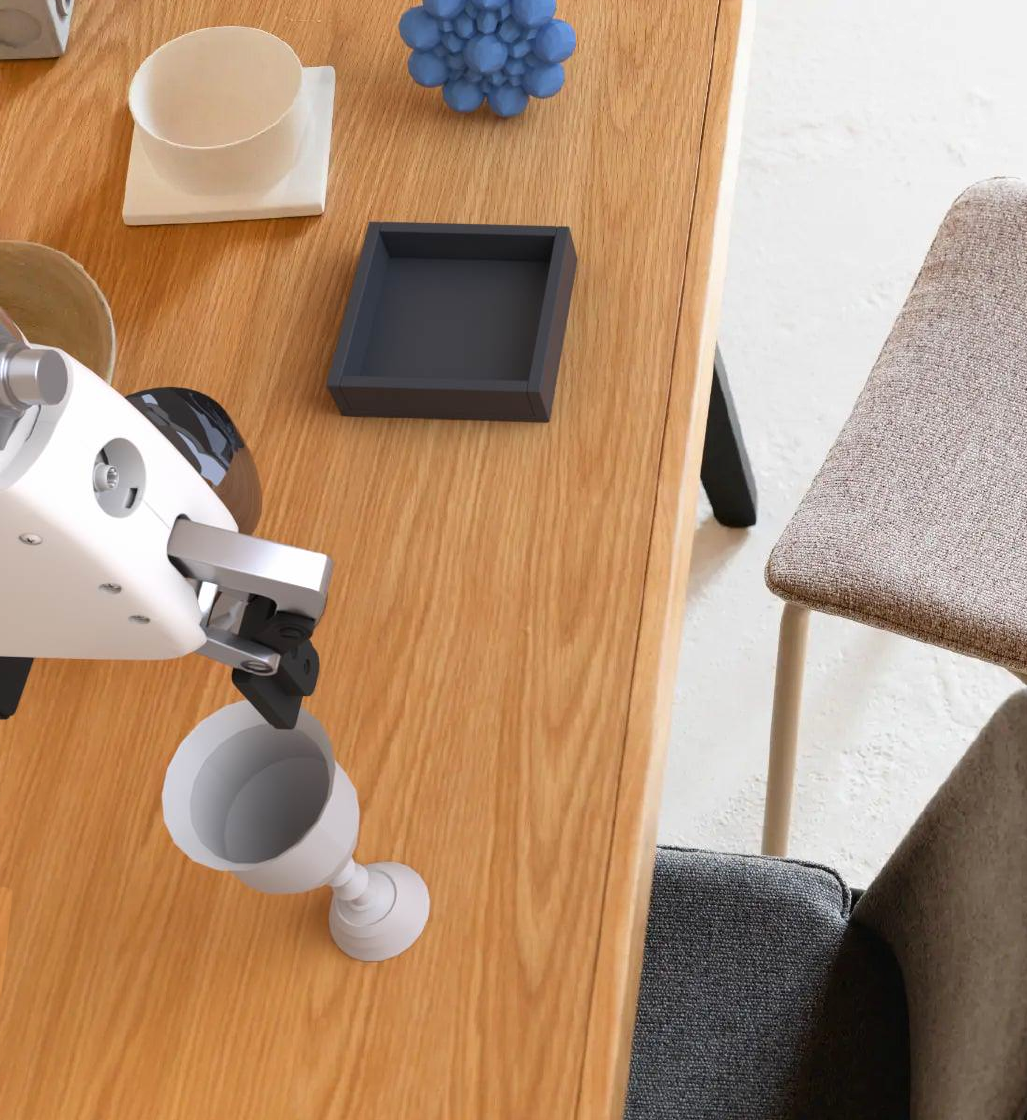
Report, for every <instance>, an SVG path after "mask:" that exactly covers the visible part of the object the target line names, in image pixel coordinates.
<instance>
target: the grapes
mask: <svg viewBox="0 0 1027 1120" xmlns="http://www.w3.org/2000/svg"><path fill="white" fill-rule="evenodd" d="M421 3H422V5H416V6H412V7H409V8H408V9H407V10H406V11H405V12H404V13H402V14H401V17H400V18H399V22H398V26H397V27H398V32H399V37H400V38H401V40H402V41H403V43H404V44H405V45H406V47H408V48H410V49H411V50H412V51H411V52H410V54H409V57H408V59H407V63H406V64H407V69H408V74H409V75H410V77H411V79H412V80H413V82H414V83H415V84H417V85H418V86H420V87H422V88H426V89H433V88H437V87H441V86H442V87H441V95H442V100H443V102H444V103H445V104H446V106H447V107H448V108H449V110H451V111H452V112H454V113H457V114H469V113H472V112H475V111H477V110H478V109H479V108H480V107H482V106H483V104H484V102H485V101H486V105H487V107H488V108H489V109H490V111H491V112H492V113H493V114H494V115H496V116H498V117H500V118H505V119H506V118H507V119H509V118H514V117H517V116H519V115H520V114H522V113H523V112H524V111H525V110H526V109H527V107H528V104H529V102H530V96H531V97H533V98H535V99H540V100H544V99H545V100H546V99H549V98H553V97H554V96H556V95H557V94H558V93H559V92H560V91H561V90H562V89H563V86H564V84H565V82H566V76H565V68H564V66H563V65H562V63H565V62H566V61H568V60H569V59H570V58H571V57H572V56H573V54H574V52H575V50H576V47H577V39H576V32H575V30H574V28H573V27H572V25H570V24H571V23H569V22H567V21H565V20H563V19H559V18H554V17H555V14H556V12H557V1H556V0H421Z"/></svg>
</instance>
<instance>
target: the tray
mask: <svg viewBox="0 0 1027 1120" xmlns="http://www.w3.org/2000/svg"><path fill="white" fill-rule="evenodd" d="M362 243H363V244H362V247H361V251H360V255H359V259H358V263H357V266H356V269H355V273H354V277H353V282H352V285H351V288H350V293H349V295H348V300H347V303H346V308H345V312H344V314H343V319H342V323H341V326H340V330H339V334H338V338H337V342H336V344H335V345H336V346H335V349H334V353H333V357H332V361H331V364H330V367H329V372H328V376H327V379H326V383H325V387H326V389H327V391H328V393H329V395H330V396H331V398H332V400H333V402H334V404H335V406H336V407H337V409H338V411H339V414H340V415H341V416H342V417H364V418H365V417H367V418H400V419H401V418H403V419H404V418H405V419H433V420H434V419H435V420H466V421H470V420H471V421H496V422H497V421H501V422H503V421H504V422H531V423H532V422H534V423H535V422H536V423H550V421H551V416H552V409H553V404H554V398H555V392H556V387H557V381H558V377H559V370H560V364H561V358H562V351H563V348H564V347H563V346H564V341H565V335H566V329H567V324H568V317H569V312H570V306H571V300H572V294H573V289H574V282H575V277H576V272H577V265H578V261H579V259H578V255H577V251H576V247H575V243H574V240H573V236H572V232H571V229H570V226H568V225H567V226H566V225H557V226H556V225H532V224H531V225H527V224H526V225H525V224H524V225H523V224H492V223H491V224H490V223H487V224H485V223H447V222H414V221H413V222H411V221H382V222H381V221H369V222H368V225H367V229H366V233H365V236H364V239H363V242H362Z"/></svg>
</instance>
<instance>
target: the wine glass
mask: <svg viewBox="0 0 1027 1120" xmlns="http://www.w3.org/2000/svg"><path fill="white" fill-rule="evenodd" d="M123 397H124V398H125V399H126V400H127V401H128V402H129V403H131V404H132V405H133V406H134V407H135V408H136V409H137V410H138V411H139V412H140V413H141V414H143V415H144V416H145V417H146V418H147V419H148V420H149V421H150V422H151V423H152V424H153V425H154V426H155V427H156V428H157V429H158V430H159V431H160V432H161V433H162V434H163V435H164V436H165V437H166V438H167V439H168V440H169V441H170V442H171V444H172V445H173V446H174V447H175V448H176V449H177V450H178V451H179V452H180V453H181V454H182V455H183V457H184V458H185V459H186V460H187V461H188V462H189V463H190V464H191V466H192V467H193V468H194V469H195V470H196V471H197V472H198V474H199V475H200V476H201V477H202V478H203V479H204V480H205V482H206V483H207V484H208V485H209V487H210V488H211V489H212V490H213V491H214V493H215V494H216V495H217V496H218V498H219V499H220V500H221V501H222V503H223V504H224V505H225V507H226V508H227V509H228V511H229V512H230V514H231V515H232V517H233V519H234V520H235V522H236V524H237V526H238V533H242V534H246V535H250V536H254V533H255V531H256V529H258V526H259V523H260V520H261V517H262V509H263V490H262V485H261V479H260V475H259V472H258V468H257V466H256V462H255V459H254V456H253V453H252V452H251V450H250V448H249V446H248V444H247V443H246V441H245V439H244V437H243V435H242V434H241V432H240V429H239V427H238V426H237V425H236V423H235V422H234V420H233V418H232V417H231V416H230V414H229V413H228V412H227V411H226V410H225V409H224V407H223V406H222V405H221V404H220V403H219V402H217V400H215V399H214V398H212V397H211V396H209V395H207V394H204V393H203V392H200V391H199V390H195V389H191V388H186V387H180V386H179V387H178V386H164V387H162V386H161V387H160V386H159V387H152V388H148V389H143V390H139V391H136V392H133V393H131V394H128V395H125V396H123ZM327 602H328V593H327V597H326V600H325V603H324V605H323V608H322V610H321V613H320V615H319V618H318V620H317V621H316V624H315V627H314V629H315V628H316V627H317V626H318V624H319V623H320V621H321V618H322V617H323V616H324V613H325V610H326V607H327ZM247 604H249V603H247V602H244V601H242V600H239V599H237V598H235V597H232V596H230V595H227V594H225V593H222V592H220V591H218V593H217V597H216V600H215V604H214V607H213V611H212V614H211V618H210V621H209V624H212V625H214V626H217V627H219V628H222V629H224V630H227V631H229V632H232V633H235V634H237V635H238V632H239V628H240V625H241V621H242V617H243V614H244V610H245V607H246V605H247Z"/></svg>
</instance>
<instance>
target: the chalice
mask: <svg viewBox="0 0 1027 1120" xmlns="http://www.w3.org/2000/svg"><path fill="white" fill-rule="evenodd" d="M176 749H177V750H176V751H175V753H174V755H173V756H172V759H171V761H170V763H169V765H168V766H167V768H166V772H165V779H164V782H163V788H162V791H161V802H162V813H163V822H164V824H165V826H166V828H167V830H168V833H169V835H170V837H171V839H172V841H173V843H174V844H175V846H177V847H178V849H180V850H181V851H182V852H183V853H184V854H185V855H186V856H187V857H189V859H191V861H192V862H195V863H197V864H200V865H202V866H205V867H208V868H211V869H213V870H216V871H228V872H229V873H230V874H231V875H233V876H234V877H235V878H236V879H238V880H239V881H240V882H241V883H242V884H244V885H245V886H246V887H248V888H250V889H253V890H256V891H258V892H261V893H264V894H266V895H292V894H293V895H294V894H304V893H307V892H310V891H313V890H316V889H319V888H322V887H323V886H325V885H327V886H329V887H331V891H332V892H333V894H332V899H331V902H330V906H329V913H328V925H329V932H330V936H331V937H332V939H333V940H334V942H335V944H336V946H337V947H338V948H339V950H340V951H342V952H344V953H345V954H346V955H347V956H349V957H351V958H353V959H356V960H359V961H363V962H382V961H385V960H388V959H391V958H395V957H397V956H399V955H400V954H401V953H403V952H404V951H406V950H407V949H409V948H410V947H411V946H412V945H413V944H414V943H415V942H416V941H417V939H418V938H419V937H420V936H421V935H422V933H423V932H424V931H423V930H424V929H425V926H426V924H427V922H428V919H429V915H430V906H431V899H430V894H429V890H428V889H429V888H428V886H427V885H426V883H425V881H424V880H423V878H422V877H421V875H420V873H418V872H416V871H415V870H414V869H413V868H411V867H410V866H409V865H406V864H403V863H401V862H396V861H377V862H371V863H368V864H364V865H362V864H361V863H357V862H355V860H354V859H353V854H354V853H355V852H354V851H355V849H356V848H357V845H358V838H359V830H360V815H361V814H360V813H361V812H360V811H361V810H360V805H359V798H358V793H357V789H356V788H355V786H354V785H353V782H352V781H351V779H350V777H349V775H348V774H347V772H346V770H344V768H343V767H341V765H340V764H339V763H338V762H337V761H336V759H335V754H334V753H335V752H334V747H333V743H332V741H331V738H330V737H329V735H328V733H327V731H326V729H325V728H324V726H323V724H322V722H321V721H320V720H319V719H318V718H316V717H315V716H314V715H313V714H312V713H311V712H310V711H308V710H307V708H305V707H304V706H302V705H301V707H300V711H299V715H298V719H297V723H296V726H295V728H294V729H292V730H285V729H275V728H274V727H273V726H272V725H270V724H269V723H268V722H267V721H266V720H265V719H264V718H263V716H262V715H261V714H260V713H259V712H258V711H257V710H256V709H255V708H254V706H253V705H252V704H251V703H250V702H249V701H248V700H247V699H246V698H245V699H244V700H240V701H236V702H233V703H230V704H227V705H224V706H223V707H221V708H220V709H218V710H216V711H215V712H213V713H211V714H210V715H208V716H206V717H205V718H204V719H203V720H201V721H199V722H198V723H197V724H196V726H195V727H194V728H193V729H192V730H191V731H190V732H189V733H188V735H187V736H186V737H185V738H184V739H183V740H182V741H181V742H180V743H179V745H178V747H177V748H176Z"/></svg>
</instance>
